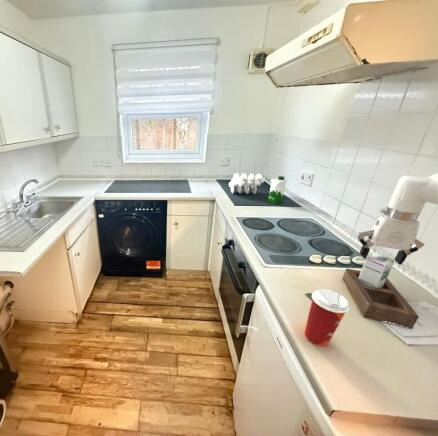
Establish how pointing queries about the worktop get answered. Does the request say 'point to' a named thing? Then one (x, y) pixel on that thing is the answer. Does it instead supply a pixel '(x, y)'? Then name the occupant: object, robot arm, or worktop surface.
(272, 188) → the milk carton
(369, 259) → the syrup box
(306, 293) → the meat cleaver
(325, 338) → the coffee cup
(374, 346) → the worktop surface
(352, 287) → the holder
